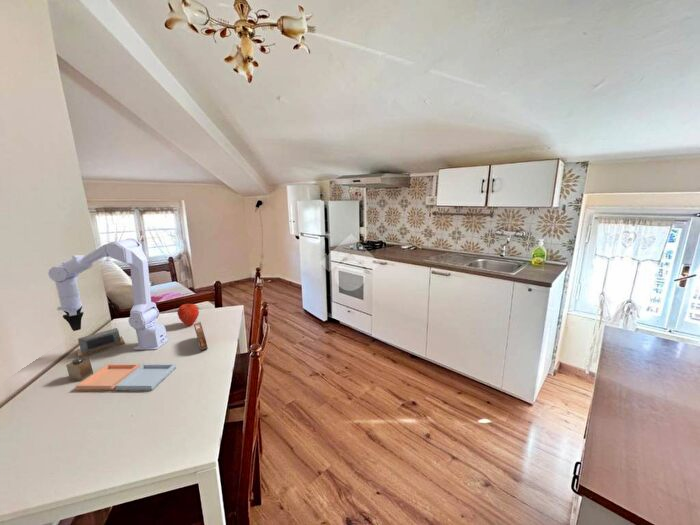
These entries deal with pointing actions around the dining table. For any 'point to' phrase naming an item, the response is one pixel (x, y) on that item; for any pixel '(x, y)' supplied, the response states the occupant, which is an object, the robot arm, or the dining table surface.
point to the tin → (200, 336)
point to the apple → (188, 314)
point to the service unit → (99, 342)
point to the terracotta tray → (107, 377)
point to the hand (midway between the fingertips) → (76, 326)
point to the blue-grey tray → (146, 377)
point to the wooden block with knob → (79, 369)
